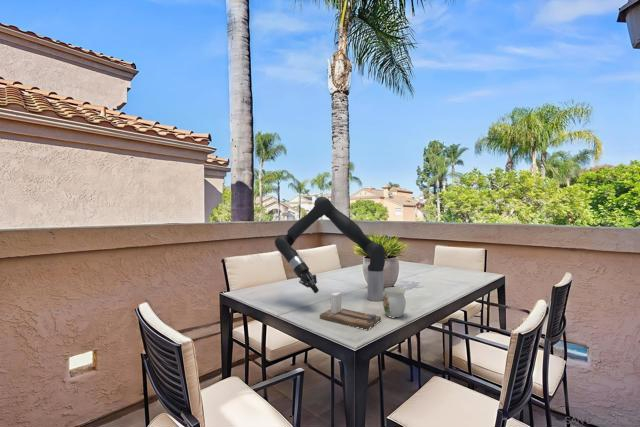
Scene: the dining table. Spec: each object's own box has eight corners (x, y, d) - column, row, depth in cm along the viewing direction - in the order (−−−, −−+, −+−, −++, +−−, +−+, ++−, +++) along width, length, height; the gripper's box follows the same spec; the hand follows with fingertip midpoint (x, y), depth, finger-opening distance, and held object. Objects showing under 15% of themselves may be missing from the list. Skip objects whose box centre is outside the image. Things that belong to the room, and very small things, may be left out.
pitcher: (394, 308, 168) (394, 283, 167) (412, 320, 150) (412, 292, 150) (375, 310, 165) (375, 284, 164) (392, 322, 147) (392, 293, 147)
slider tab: (336, 309, 159) (336, 292, 158) (341, 310, 157) (341, 293, 157) (330, 312, 155) (330, 294, 154) (335, 313, 153) (335, 295, 153)
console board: (334, 310, 164) (334, 303, 164) (380, 320, 150) (380, 312, 149) (319, 318, 153) (319, 310, 153) (367, 330, 138) (367, 321, 138)
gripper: (294, 263, 162) (313, 290, 155) (310, 260, 173) (328, 285, 166) (287, 272, 165) (305, 299, 158) (302, 268, 176) (320, 293, 169)
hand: (317, 291), depth 162 cm, fingers closed
